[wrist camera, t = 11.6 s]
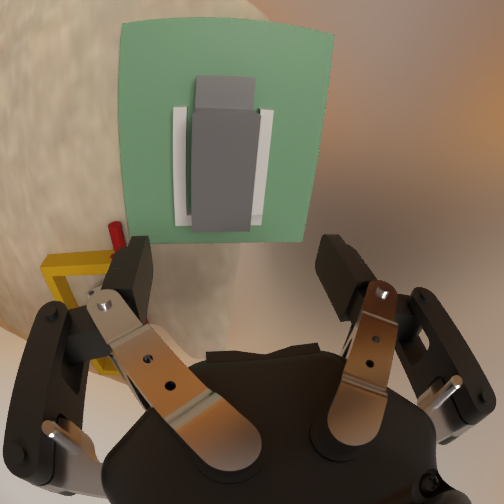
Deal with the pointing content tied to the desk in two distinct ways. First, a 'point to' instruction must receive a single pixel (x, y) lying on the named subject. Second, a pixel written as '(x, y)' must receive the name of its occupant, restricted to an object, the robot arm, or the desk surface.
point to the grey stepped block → (223, 153)
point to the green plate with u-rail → (181, 110)
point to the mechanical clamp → (82, 264)
